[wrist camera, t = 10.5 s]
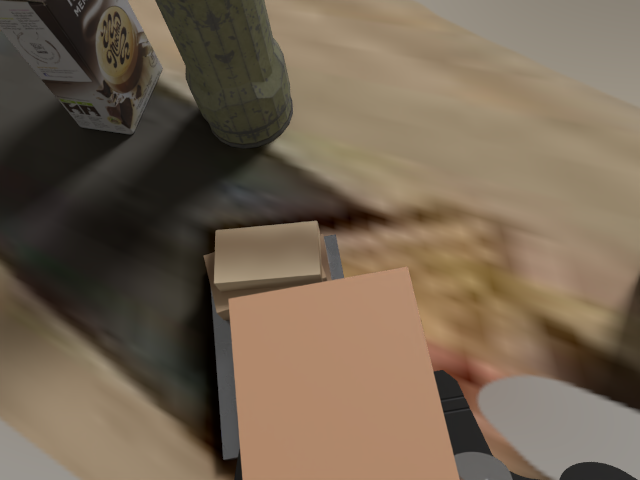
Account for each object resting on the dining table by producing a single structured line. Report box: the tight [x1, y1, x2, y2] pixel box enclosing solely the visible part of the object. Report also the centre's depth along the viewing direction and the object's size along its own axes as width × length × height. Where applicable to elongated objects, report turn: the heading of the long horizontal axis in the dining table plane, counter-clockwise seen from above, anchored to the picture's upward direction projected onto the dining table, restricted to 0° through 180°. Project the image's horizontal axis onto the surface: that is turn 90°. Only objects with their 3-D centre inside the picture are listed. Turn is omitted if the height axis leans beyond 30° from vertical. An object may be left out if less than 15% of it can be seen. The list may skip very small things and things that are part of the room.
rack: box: [211, 235, 344, 460], centre depth 40 cm, size 16×11×4 cm
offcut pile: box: [204, 221, 332, 320], centre depth 40 cm, size 6×9×6 cm, turn 99°
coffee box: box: [0, 0, 163, 134], centre depth 47 cm, size 9×6×16 cm
